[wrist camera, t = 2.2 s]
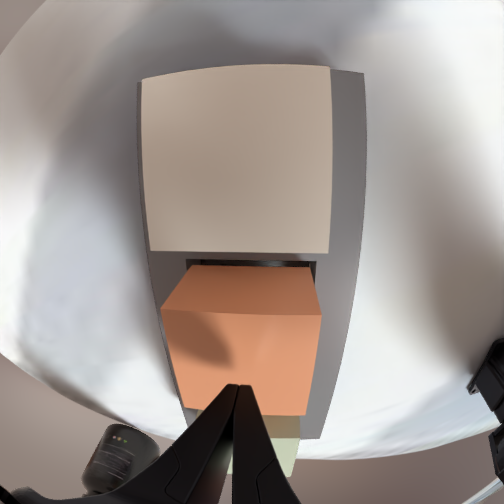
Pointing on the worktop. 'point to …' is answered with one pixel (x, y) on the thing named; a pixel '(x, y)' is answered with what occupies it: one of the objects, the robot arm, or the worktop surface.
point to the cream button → (238, 159)
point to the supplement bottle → (118, 459)
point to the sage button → (281, 439)
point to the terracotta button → (244, 334)
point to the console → (321, 264)
